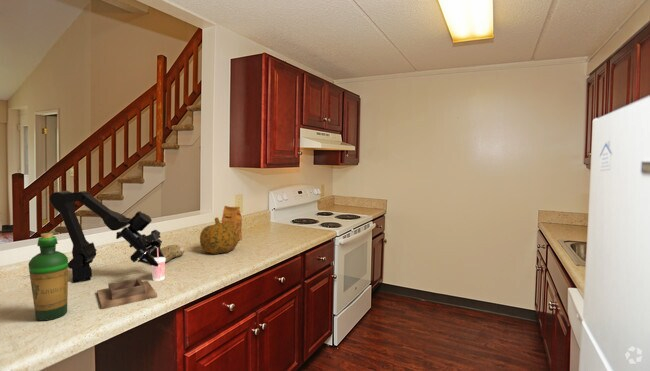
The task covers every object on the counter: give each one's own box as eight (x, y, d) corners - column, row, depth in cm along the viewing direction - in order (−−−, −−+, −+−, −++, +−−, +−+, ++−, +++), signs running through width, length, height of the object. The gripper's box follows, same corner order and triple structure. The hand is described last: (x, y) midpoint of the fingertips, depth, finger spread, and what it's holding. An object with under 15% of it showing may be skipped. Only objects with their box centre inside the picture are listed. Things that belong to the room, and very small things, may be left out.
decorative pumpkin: (242, 252, 195) (238, 216, 193) (202, 259, 188) (197, 222, 186) (238, 245, 214) (234, 212, 212) (201, 251, 207) (197, 217, 205)
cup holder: (102, 309, 125) (101, 297, 125) (97, 293, 139) (96, 282, 139) (157, 297, 136) (156, 286, 135) (147, 283, 150) (147, 273, 150)
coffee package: (228, 237, 235) (227, 204, 233) (244, 239, 230) (243, 205, 228) (218, 240, 225) (217, 206, 223) (235, 242, 221) (234, 207, 219)
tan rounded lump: (170, 256, 195) (139, 258, 177) (174, 242, 195) (143, 243, 177) (188, 264, 190) (157, 266, 171) (192, 249, 190) (161, 251, 172)
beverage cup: (154, 276, 158) (153, 245, 157) (168, 276, 159) (167, 245, 158) (148, 281, 152) (147, 249, 151) (163, 281, 153) (162, 249, 151)
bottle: (26, 325, 113) (20, 238, 110) (37, 311, 123) (32, 231, 120) (66, 319, 117) (62, 235, 115) (74, 306, 127) (70, 229, 124)
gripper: (137, 229, 144) (165, 256, 145) (157, 221, 163) (182, 244, 164) (117, 249, 144) (146, 275, 146) (140, 238, 163) (165, 261, 164)
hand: (161, 263), depth 155 cm, fingers open, 7 cm apart
